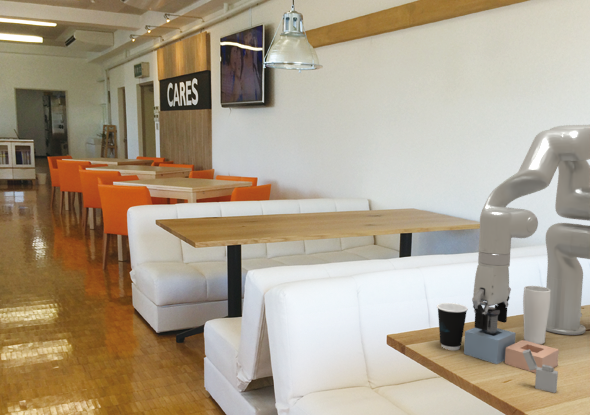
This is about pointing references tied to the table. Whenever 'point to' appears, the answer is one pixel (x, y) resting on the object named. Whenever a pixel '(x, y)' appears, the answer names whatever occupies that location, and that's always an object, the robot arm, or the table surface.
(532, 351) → the mount block
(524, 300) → the drinking glass
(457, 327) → the dixie cup
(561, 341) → the table surface
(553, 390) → the lighter
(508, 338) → the socket block
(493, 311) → the lock pin
